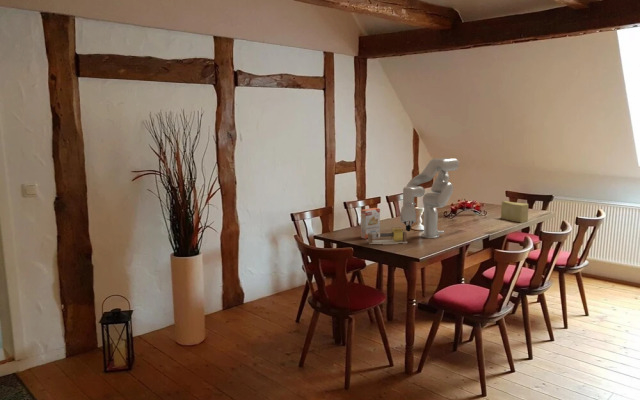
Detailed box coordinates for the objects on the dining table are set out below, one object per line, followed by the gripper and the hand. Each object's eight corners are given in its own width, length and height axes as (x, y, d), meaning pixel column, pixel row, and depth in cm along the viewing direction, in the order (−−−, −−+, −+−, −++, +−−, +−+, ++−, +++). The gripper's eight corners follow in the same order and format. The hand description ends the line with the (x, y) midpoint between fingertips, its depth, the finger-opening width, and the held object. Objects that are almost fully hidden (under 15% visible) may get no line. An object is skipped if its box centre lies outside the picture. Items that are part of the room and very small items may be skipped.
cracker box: (366, 239, 346) (365, 210, 343) (360, 238, 351) (360, 209, 348) (380, 236, 354) (380, 208, 351) (374, 235, 359) (374, 207, 356)
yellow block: (399, 237, 340) (400, 227, 339) (402, 240, 333) (402, 229, 332) (391, 238, 339) (391, 227, 338) (394, 240, 332) (394, 229, 331)
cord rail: (403, 240, 342) (403, 229, 340) (407, 243, 333) (407, 232, 332) (367, 241, 339) (367, 231, 338) (370, 245, 330) (370, 234, 329)
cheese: (497, 219, 407) (498, 201, 405) (504, 217, 412) (505, 200, 410) (521, 223, 389) (521, 204, 386) (528, 221, 394) (529, 203, 392)
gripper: (417, 203, 338) (417, 229, 341) (396, 204, 336) (396, 230, 339) (420, 205, 330) (420, 231, 333) (399, 206, 329) (399, 232, 332)
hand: (408, 230), depth 336 cm, fingers closed
